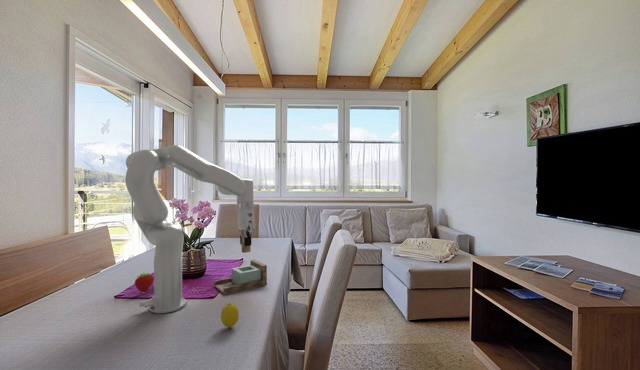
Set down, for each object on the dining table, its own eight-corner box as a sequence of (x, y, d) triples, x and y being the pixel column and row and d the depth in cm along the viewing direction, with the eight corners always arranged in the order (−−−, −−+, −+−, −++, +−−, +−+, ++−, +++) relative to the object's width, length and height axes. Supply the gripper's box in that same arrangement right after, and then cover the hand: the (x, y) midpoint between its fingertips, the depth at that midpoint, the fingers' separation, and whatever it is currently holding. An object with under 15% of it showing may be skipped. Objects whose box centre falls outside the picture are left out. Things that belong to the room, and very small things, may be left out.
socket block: (240, 286, 130) (240, 273, 130) (231, 281, 138) (231, 268, 138) (261, 282, 136) (260, 269, 136) (251, 276, 144) (251, 264, 144)
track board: (224, 294, 124) (224, 273, 124) (213, 286, 134) (213, 266, 134) (266, 284, 136) (266, 265, 136) (254, 277, 146) (254, 259, 146)
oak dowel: (251, 251, 137) (251, 230, 137) (243, 252, 134) (243, 231, 134) (248, 250, 140) (248, 229, 140) (240, 251, 137) (240, 230, 137)
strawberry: (157, 291, 128) (157, 268, 128) (139, 297, 121) (139, 273, 121) (149, 289, 131) (148, 267, 131) (131, 295, 124) (131, 271, 124)
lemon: (229, 333, 91) (229, 308, 91) (217, 329, 94) (217, 304, 94) (242, 326, 96) (242, 301, 96) (230, 322, 99) (230, 298, 99)
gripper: (260, 206, 133) (261, 246, 133) (245, 204, 146) (245, 241, 146) (245, 207, 128) (245, 249, 128) (230, 205, 141) (231, 243, 141)
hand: (245, 244), depth 137 cm, fingers closed on oak dowel, 4 cm apart
